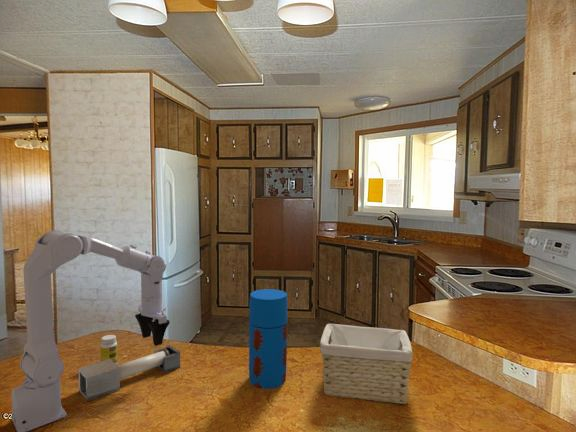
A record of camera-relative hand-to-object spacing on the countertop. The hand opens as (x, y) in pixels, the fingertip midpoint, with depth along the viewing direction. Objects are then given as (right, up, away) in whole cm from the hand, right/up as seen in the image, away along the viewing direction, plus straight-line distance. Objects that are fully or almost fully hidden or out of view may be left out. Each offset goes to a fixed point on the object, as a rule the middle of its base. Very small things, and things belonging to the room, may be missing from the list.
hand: (152, 340), depth 109 cm
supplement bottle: (-15, -9, +5) cm, 18 cm away
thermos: (+34, -10, -3) cm, 36 cm away
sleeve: (-10, -10, -10) cm, 18 cm away
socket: (+3, -9, +4) cm, 11 cm away
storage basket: (+62, -11, -6) cm, 63 cm away
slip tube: (-2, -8, -2) cm, 9 cm away
